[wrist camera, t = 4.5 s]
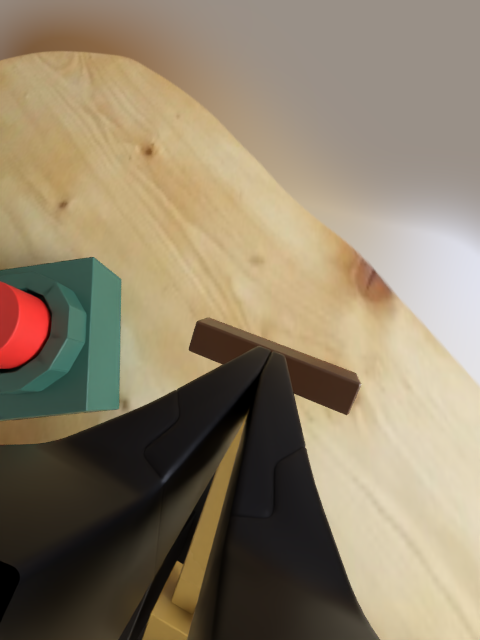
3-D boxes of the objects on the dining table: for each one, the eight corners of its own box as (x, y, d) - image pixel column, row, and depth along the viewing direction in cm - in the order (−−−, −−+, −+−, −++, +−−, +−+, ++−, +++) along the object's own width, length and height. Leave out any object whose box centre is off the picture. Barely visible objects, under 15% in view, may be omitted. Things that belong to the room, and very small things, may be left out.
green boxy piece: (119, 409, 23) (67, 412, 17) (17, 419, 23) (-68, 426, 17) (121, 278, 26) (78, 243, 20) (30, 291, 26) (-37, 260, 20)
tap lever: (212, 314, 12) (189, 322, 10) (355, 368, 11) (365, 390, 9) (130, 582, 15) (98, 636, 13) (235, 646, 14) (220, 718, 12)
